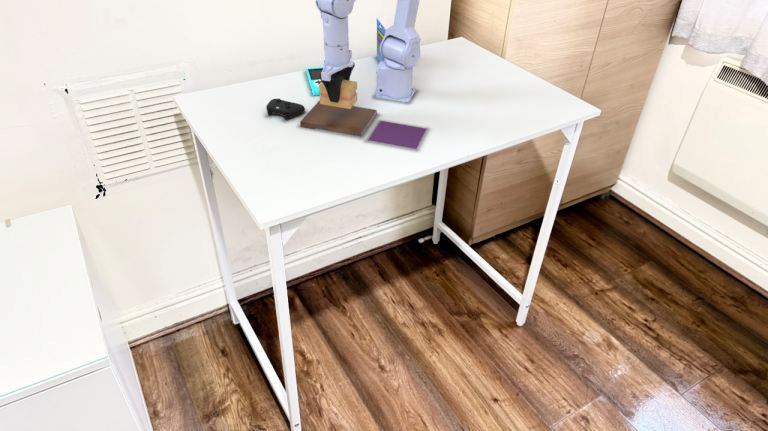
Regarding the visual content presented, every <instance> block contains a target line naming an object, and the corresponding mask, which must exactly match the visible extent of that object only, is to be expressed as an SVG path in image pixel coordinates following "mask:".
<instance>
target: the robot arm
mask: <svg viewBox="0 0 768 431" xmlns="http://www.w3.org/2000/svg"><path fill="white" fill-rule="evenodd" d="M355 2H356V0H315V6H316V8H317V9H318V11H319V13H320V18H321V20H322V34H323V35H322V36H323V53H324V60H323V66H322V67H323V71H322V72H321V74H320V75H319V77H320V80H321V81H322V83H323V84H324V86H325V88H326V91H327V93H328V97H329V100H330V102H336V103H338V102H339V98H340V89H341V84H342V81H343V80H349V81H351V80H350V79H351V76H352V72H353V70H354V68H355V66H356V64H355V62H354V61H353V60H351V59H352V58H353V56H352V55H353V51H352V49H350V40H349V39H350V38H349V37H350V36H349V15H350V14H352V12H353V9H354V6H355ZM419 5H420V0H397V1H396V7H395V13H394V18H393V24H392V25H391V26H389V27H388V28H385V29H386V30H385V35H384V38H383V40H382V42H381V45H380V53H381V55H382V57H384V61H379V63H378V65H377V69H376V77H375V78H376V80H375V81H376V86H375V87H376V88H375V89H376V90H375V92H376V93H375V98H376V99H385V100H390V101H395V102H396V101H397V102H403V103H410V101H411V99H412V98H413V96H414V95H415V93H416V91H417V89H416V88H413V75H414V74H413V73H414V67H415V66H416V65H417V64H418V62H419V60H420V57H421V40H422V39H421V37H420V35H419V33H418V32H417V31H416V28H415V26H416V20H417V16H418V10H419Z"/></svg>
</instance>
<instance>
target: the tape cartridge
mask: <svg viewBox="0 0 768 431" xmlns="http://www.w3.org/2000/svg"><path fill="white" fill-rule="evenodd" d="M386 29H387V28H385V27H384V25H383V24H382V22H381V21H380V20H379V18H376V58H377V60H378V62H380V61H384V57H382V55H381V53H380V45H381V42H382V40H383V38H384V35H385V30H386Z"/></svg>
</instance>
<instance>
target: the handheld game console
mask: <svg viewBox="0 0 768 431" xmlns="http://www.w3.org/2000/svg"><path fill="white" fill-rule="evenodd" d="M322 71H323V66H316V67H315V66H314V67H307V68H305V72H306V75H307V79H308V82H309V86H310V90H311V93H312V96H321V95H320V93H319V85H320V83H321V82H322V81H321V80H320V77H319V75H320V74H321V72H322Z"/></svg>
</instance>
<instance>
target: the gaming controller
mask: <svg viewBox="0 0 768 431" xmlns="http://www.w3.org/2000/svg"><path fill="white" fill-rule="evenodd" d="M265 108H266V109H265V110H266V111H267V115H268V116H272V115H273V114H276V115H280V116H284V120H287V121H288V120H290V119H291V118H292V117H293V116H297V115H301V114H303V113H304V112H305V110H306V108H305V106H304V105H303V104H300V103H295V102H291V101H287V100H283V99H280V98H273V99H270V100H269V102H268V103H267V105H266V106H265Z"/></svg>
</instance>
